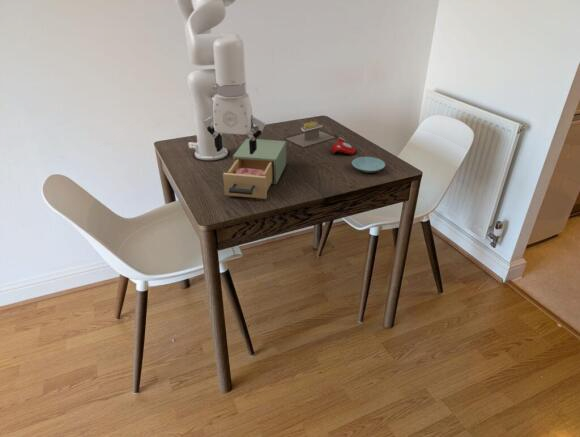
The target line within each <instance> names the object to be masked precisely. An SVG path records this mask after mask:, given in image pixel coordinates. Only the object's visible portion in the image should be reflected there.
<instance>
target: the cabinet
mask: <svg viewBox="0 0 580 437" xmlns="http://www.w3.org/2000/svg"><path fill="white" fill-rule="evenodd" d="M250 140H251V139H250V138H249V137H248V138H246V139H245V140H244V141H243V142H242V143H241V145H240V146H239V147H238V149H237V150H236V151H235V152H234V154H233V155H232V165H233V164H234V163H235V161H236V160H237V159H249V160H262V161H274V179H273V181H272V183H271V185H277V184H278V182H279V180H280V178H281V176H282V173H283V172H284V170H285V168H286V166H287V141H286V140H275V139H274V140H273V139H262V138H256V141H257V150H256V151H255V152H254V153H253V154H250V148H249V141H250Z"/></svg>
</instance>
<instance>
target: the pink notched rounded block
mask: <svg viewBox="0 0 580 437" xmlns="http://www.w3.org/2000/svg"><path fill="white" fill-rule="evenodd" d="M263 173H264V171H263V170H260V169H249V168H239V169H237V170H235V174H246V175H258V176H263Z"/></svg>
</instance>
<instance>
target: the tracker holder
mask: <svg viewBox="0 0 580 437" xmlns="http://www.w3.org/2000/svg"><path fill="white" fill-rule="evenodd" d="M330 151H331V152H332V153H333V154H336V153H339V152H340V153H344V154H347V155H354V154H355V153H356V148H355V147H354V146H353V145H352V144H351V143H348V142H346V140H345V138H343V137H340V136H338V141H336V142H335V143H334V144H333V146H332V148H331V149H330Z"/></svg>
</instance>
